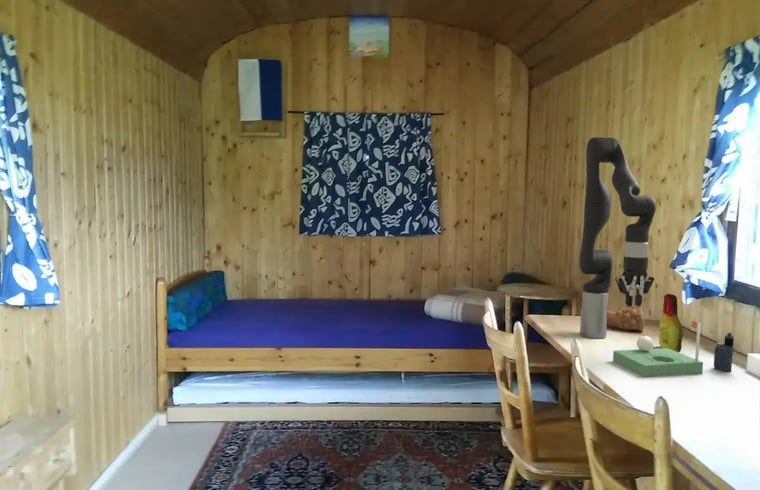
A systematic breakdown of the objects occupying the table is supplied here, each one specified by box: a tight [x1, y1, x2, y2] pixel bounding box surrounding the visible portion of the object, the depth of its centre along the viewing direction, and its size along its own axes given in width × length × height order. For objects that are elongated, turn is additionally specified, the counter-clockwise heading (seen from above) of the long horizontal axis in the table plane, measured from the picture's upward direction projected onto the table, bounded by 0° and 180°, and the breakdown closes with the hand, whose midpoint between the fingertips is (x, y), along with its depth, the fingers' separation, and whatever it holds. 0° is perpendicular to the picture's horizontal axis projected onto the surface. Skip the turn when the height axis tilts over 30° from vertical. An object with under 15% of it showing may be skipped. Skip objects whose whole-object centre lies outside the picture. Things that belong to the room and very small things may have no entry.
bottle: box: [658, 293, 684, 353], centre depth 200 cm, size 12×6×20 cm, turn 172°
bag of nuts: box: [607, 305, 645, 332], centre depth 232 cm, size 19×11×15 cm
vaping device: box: [713, 332, 735, 373], centre depth 179 cm, size 3×5×12 cm, turn 28°
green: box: [612, 320, 704, 378], centre depth 181 cm, size 16×20×16 cm
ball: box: [636, 335, 654, 351], centre depth 187 cm, size 5×5×5 cm
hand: (633, 305), depth 193 cm, fingers open, 2 cm apart
